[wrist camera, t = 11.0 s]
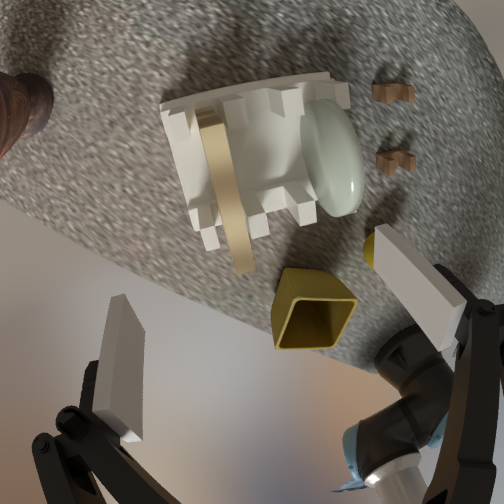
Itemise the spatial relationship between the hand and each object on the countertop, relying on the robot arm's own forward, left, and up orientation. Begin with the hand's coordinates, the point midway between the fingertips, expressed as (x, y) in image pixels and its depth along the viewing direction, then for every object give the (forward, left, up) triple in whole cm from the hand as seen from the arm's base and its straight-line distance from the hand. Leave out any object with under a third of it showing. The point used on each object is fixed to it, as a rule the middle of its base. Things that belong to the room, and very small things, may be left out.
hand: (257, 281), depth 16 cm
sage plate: (0, -10, -20) cm, 22 cm away
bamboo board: (0, 0, -20) cm, 20 cm away
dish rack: (0, -5, -22) cm, 22 cm away
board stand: (0, -22, -22) cm, 31 cm away
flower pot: (-20, -7, -22) cm, 30 cm away
